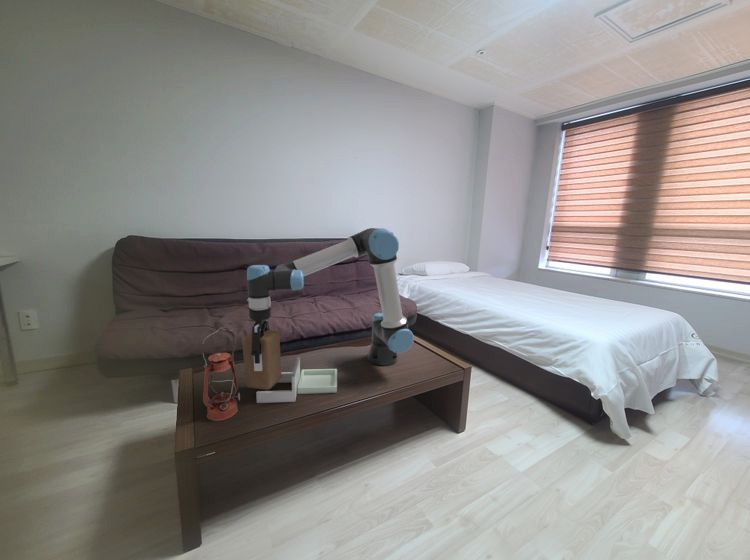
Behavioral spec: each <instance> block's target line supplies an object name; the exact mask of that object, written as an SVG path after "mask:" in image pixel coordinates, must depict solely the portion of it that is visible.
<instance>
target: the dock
mask: <svg viewBox="0 0 750 560" xmlns="http://www.w3.org/2000/svg"><path fill="white" fill-rule="evenodd" d="M300 376H301V356H297V357H296V360H295V363H294V367H293V369H292V371H290V372H289V371H287V372H285V371H284V372H282V371H281V378H280V379H279V380H278V381H277V382H276V383H275V384H279V383H284V384H285V383H291V390H289V389H288V390H287V389H286V390H263V391H262V390H258V391H256V392H255V393H256V403H257V404H265V403H266V404H267V403H268V404H269V403H270V404H271V403H293V402H296V399H297V395H298V394H297V388H298V384H299V380H300Z"/></svg>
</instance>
